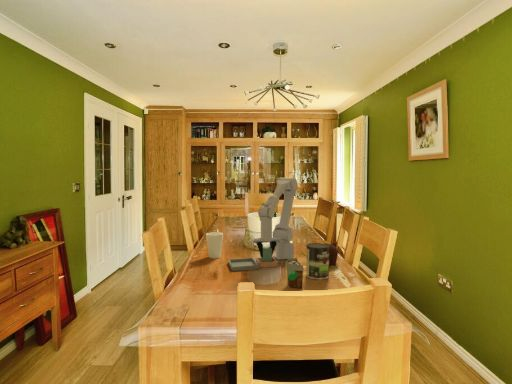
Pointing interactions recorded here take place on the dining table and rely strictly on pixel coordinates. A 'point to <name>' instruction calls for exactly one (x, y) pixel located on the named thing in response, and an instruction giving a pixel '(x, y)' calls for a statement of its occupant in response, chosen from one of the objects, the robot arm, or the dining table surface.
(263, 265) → the orange square frame
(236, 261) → the slate tray
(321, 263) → the coffee can
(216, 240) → the foam cup
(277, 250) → the robot arm
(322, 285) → the dining table surface
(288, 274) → the food container
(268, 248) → the teal block
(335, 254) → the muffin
